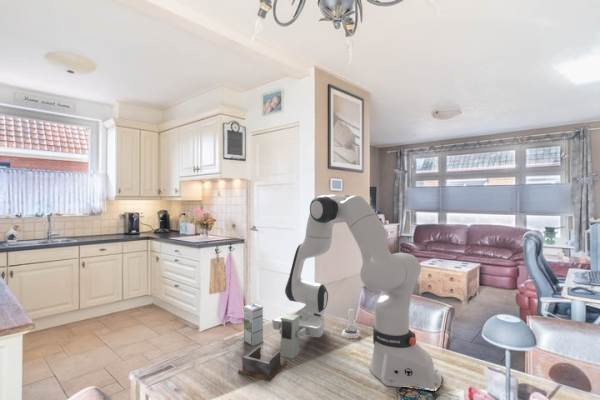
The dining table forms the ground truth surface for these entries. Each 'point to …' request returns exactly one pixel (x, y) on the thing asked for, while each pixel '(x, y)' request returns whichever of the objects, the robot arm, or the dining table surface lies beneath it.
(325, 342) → the dining table surface
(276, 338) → the dining table surface
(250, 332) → the syrup box
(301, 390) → the dining table surface
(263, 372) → the bracket socket
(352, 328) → the white vr controller
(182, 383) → the dining table surface
